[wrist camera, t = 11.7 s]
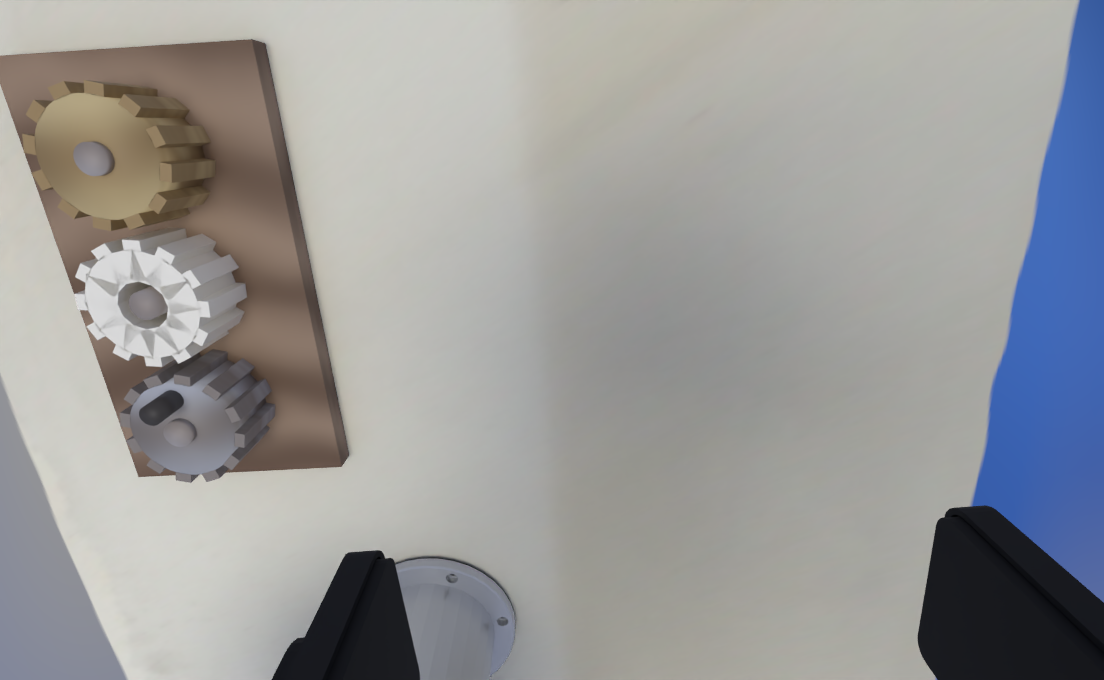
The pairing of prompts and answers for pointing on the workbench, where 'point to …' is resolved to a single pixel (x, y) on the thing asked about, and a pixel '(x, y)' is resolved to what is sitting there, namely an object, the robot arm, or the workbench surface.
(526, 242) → the workbench surface
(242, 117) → the gear board
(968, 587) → the robot arm
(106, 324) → the gear
